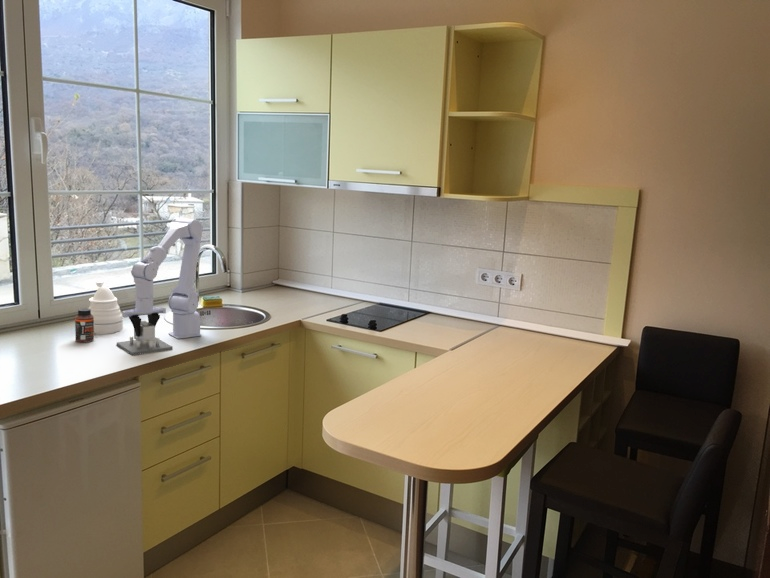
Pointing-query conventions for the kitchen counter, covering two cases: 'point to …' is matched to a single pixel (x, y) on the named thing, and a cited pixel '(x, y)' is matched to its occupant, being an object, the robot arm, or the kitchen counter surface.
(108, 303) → the honey pot
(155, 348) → the pin tray
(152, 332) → the block
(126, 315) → the robot arm
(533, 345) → the kitchen counter surface
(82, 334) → the supplement bottle
